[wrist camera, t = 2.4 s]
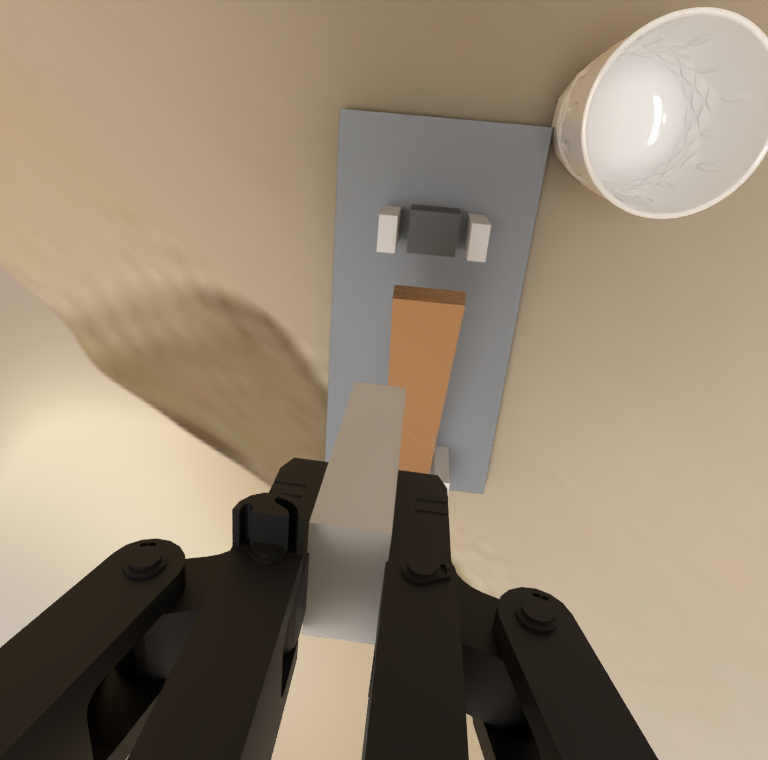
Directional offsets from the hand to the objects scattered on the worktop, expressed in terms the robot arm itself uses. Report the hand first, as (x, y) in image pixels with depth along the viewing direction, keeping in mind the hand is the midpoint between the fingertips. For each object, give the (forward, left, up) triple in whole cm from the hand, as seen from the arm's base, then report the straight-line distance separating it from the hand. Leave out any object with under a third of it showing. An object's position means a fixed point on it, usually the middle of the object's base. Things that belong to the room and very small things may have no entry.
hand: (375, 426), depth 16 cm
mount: (+4, +1, -22) cm, 22 cm away
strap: (+6, +1, -14) cm, 15 cm away
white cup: (-9, +11, -22) cm, 26 cm away
